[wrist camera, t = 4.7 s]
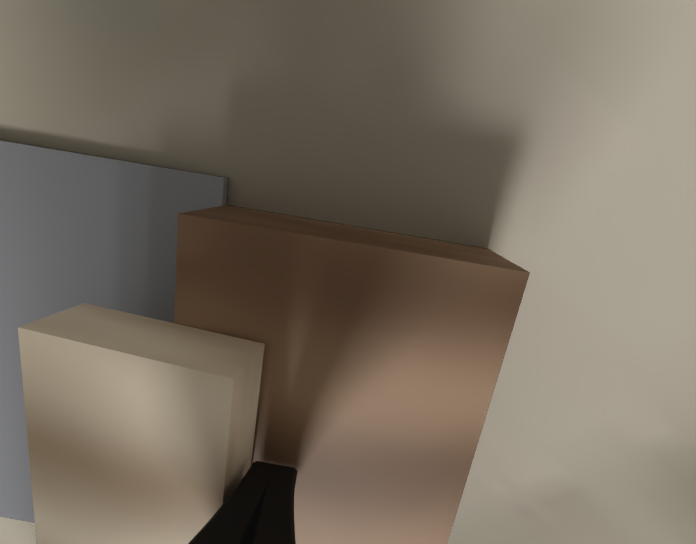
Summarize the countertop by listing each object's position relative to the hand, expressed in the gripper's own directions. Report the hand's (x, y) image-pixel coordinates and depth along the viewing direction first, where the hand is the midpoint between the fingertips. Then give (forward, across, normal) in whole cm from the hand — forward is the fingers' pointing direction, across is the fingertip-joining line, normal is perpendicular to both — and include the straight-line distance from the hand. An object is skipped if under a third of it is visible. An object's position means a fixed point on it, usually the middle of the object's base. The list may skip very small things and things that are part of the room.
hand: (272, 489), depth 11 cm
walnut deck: (+4, -1, 0) cm, 5 cm away
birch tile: (+1, +4, 0) cm, 4 cm away
